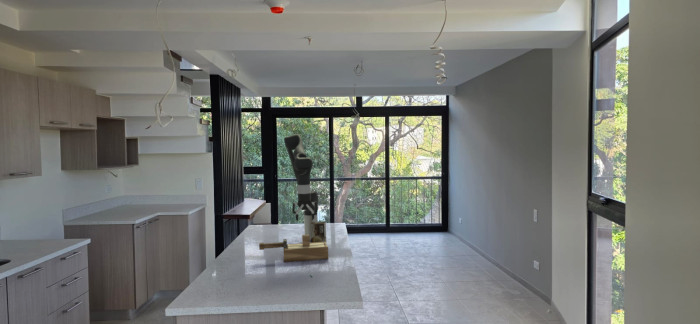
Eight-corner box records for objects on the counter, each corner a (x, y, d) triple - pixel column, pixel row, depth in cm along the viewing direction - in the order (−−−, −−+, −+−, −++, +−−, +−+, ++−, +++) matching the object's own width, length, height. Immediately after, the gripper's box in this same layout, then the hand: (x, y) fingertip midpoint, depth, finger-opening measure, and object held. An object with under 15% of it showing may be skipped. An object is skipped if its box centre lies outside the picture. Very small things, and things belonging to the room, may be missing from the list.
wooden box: (283, 256, 229) (283, 237, 228) (325, 253, 233) (325, 235, 233) (283, 262, 217) (283, 243, 217) (328, 258, 221) (327, 239, 221)
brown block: (259, 248, 222) (259, 242, 222) (284, 246, 224) (284, 241, 224) (259, 249, 219) (259, 244, 219) (284, 248, 221) (284, 242, 221)
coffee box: (326, 246, 248) (326, 221, 247) (325, 249, 242) (324, 223, 241) (312, 246, 249) (312, 221, 248) (310, 249, 243) (310, 223, 242)
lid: (287, 246, 228) (287, 234, 227) (323, 244, 231) (323, 232, 231) (288, 250, 219) (287, 238, 218) (325, 248, 222) (324, 236, 222)
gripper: (291, 193, 218) (292, 222, 219) (317, 192, 221) (318, 220, 222) (291, 192, 226) (292, 219, 227) (316, 191, 228) (316, 218, 229)
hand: (305, 220), depth 224 cm, fingers open, 8 cm apart
